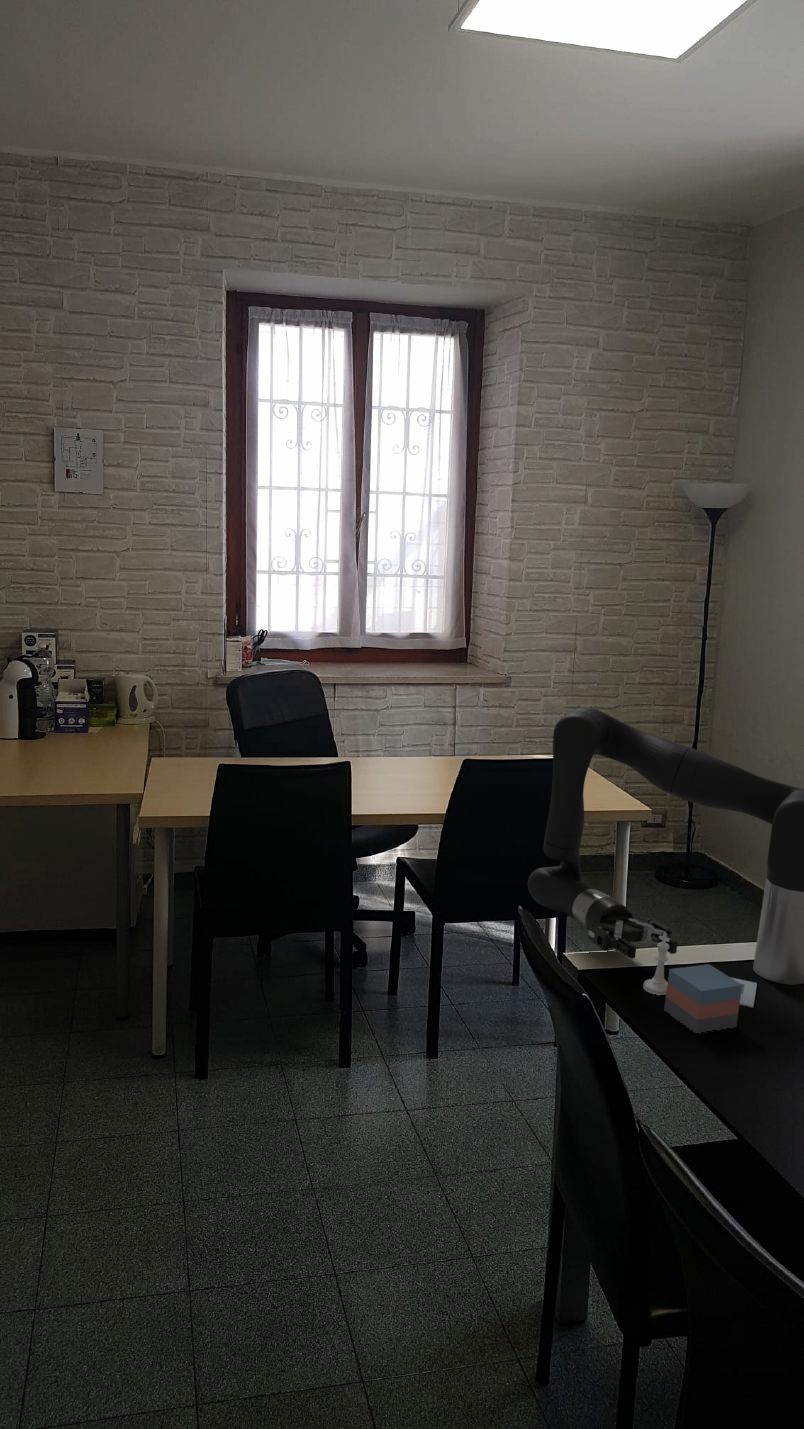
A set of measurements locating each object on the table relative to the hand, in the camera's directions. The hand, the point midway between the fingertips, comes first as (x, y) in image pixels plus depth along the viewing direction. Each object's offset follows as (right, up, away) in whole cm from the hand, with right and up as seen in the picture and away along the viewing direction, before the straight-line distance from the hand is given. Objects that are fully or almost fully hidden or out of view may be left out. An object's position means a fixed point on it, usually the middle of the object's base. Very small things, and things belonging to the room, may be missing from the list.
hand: (654, 951), depth 182 cm
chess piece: (0, -7, -1) cm, 7 cm away
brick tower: (+5, -9, -10) cm, 14 cm away
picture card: (+14, -7, +1) cm, 15 cm away
